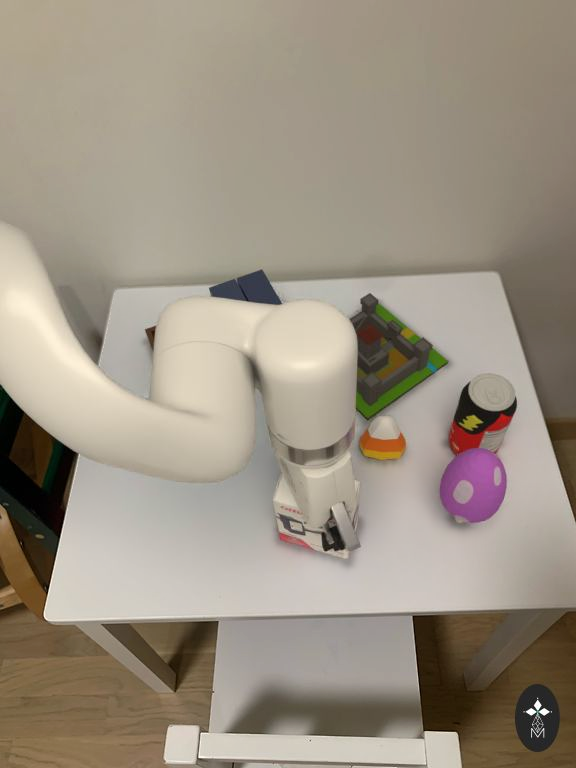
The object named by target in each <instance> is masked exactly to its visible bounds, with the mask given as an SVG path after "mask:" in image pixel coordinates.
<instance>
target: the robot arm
mask: <svg viewBox="0 0 576 768" xmlns="http://www.w3.org/2000/svg"><path fill="white" fill-rule="evenodd" d="M55 289H56V288H55V287H54V284H53V281H52V279H51V275H50V273H49V270H48V268H47V264H46V262H45V260H44V256H43V255H42V252H41V249H40V248H39V246H38V244H37V243H36V241H35V240H34V238H33V237H32V236H31V235H30V234H29V233H28V232H27V231H25V230H24V229H22V228H20V227H18V226H16V225H13V224H11V223H8V222H6V221H4V220H1V219H0V386H1V387H2V389H3V390H4V391H5V392H6V393H7V394H8V396H9V397H10V398H11V399H12V401H13V402H14V403H15V404H16V405H17V406H18V408H20V409H21V410H22V411H23V412H24V413H25V414H26V415H27V416H28V417H29V418H30V419H31V420H33V422H35V423H36V424H37V425H38V426H40V427H41V428H42V429H43V430H44V431H45V432H47V433H48V434H49V435H51V436H52V437H53V438H54V439H56V440H57V441H58V442H60V443H61V444H62V445H64V446H66V447H67V448H69V449H70V450H72V451H73V452H75V453H77V454H78V455H80V456H82V457H84V458H86V459H88V460H90V461H92V462H96V463H98V464H100V465H105V466H108V467H111V468H115V469H118V470H123V471H127V472H131V473H135V474H140V475H144V476H148V477H152V478H157V479H162V480H166V481H171V482H178V483H186V484H211V483H217V482H218V483H219V482H221V481H224V480H227V479H229V478H232V477H233V476H235V475H237V474H239V473H240V472H242V470H243V469H244V468H245V467H246V466H247V465H248V464H249V461H250V460H251V458H252V456H253V454H254V451H255V445H256V440H257V437H256V436H257V406H256V390H258V392H259V393H260V396H261V401H262V406H263V411H264V416H265V422H266V427H267V432H268V438H269V441H270V445H271V447H272V449H273V453H274V457H275V459H276V462H277V464H278V467H279V469H280V471H282V473H283V476H284V478H285V480H286V482H287V484H288V486H289V489H290V491H291V493H292V495H293V497H294V499H295V501H296V503H297V505H298V507H299V510H300V512H301V514H302V516H303V518H304V519H305V521H306V523H307V524H308V525H309V526H310V527H312V528H314V529H315V528H318V527H321V526H322V528H323V532H322V534H321V537H322V547H323V550H324V551H325V552H326V551H329V550H331V549H334V551H339V550H341V551H342V550H344V549H345V551H347V552H350V553H351V552H353V551H355V550H357V549H359V548H362V546H361V543H360V540H359V538H358V535H357V533H356V531H355V530H354V527H353V524H352V521H351V518H350V515H349V512H350V513H351V512H352V510H353V508H354V503H355V482H354V479H355V473H354V466H353V460H352V454H351V453H352V452H351V447H352V446H353V444H354V440H355V435H356V412H357V411H356V386H357V357H358V343H357V335H356V332H355V329H354V327H353V324H352V323H351V321H350V320H349V319H350V318H349V316H348V315H346V314H345V313H344V312H343V310H341V308H338V307H336V306H335V305H333V304H331V303H329V302H327V301H323V300H320V299H313V298H300V299H293V300H289V301H286V302H284V303H283V302H282V304H281V305H273V304H263V303H254V302H247V301H240V300H233V299H227V298H219V297H211V296H208V295H207V296H206V295H194V296H187V297H186V296H185V297H182V298H179V299H176V300H174V301H172V302H170V303H169V304H167V305H166V306H165V307H164V308H163V310H162V311H161V312H160V314H159V316H158V319H157V321H156V325H155V326H156V329H155V338H154V350H152V362H151V372H150V382H149V392H148V399H147V398H145V397H142V396H140V395H137V394H136V393H134V392H132V391H130V390H129V389H127V388H125V387H124V386H122V385H120V383H118V382H117V381H116V380H114V379H113V378H112V377H110V376H109V375H108V374H106V373H105V371H103V370H102V369H101V367H100V366H99V365H97V363H95V362H94V360H93V359H92V358H91V356H90V355H89V354H88V353H87V351H86V350H85V348H83V346H82V344H81V343H80V341H79V339H78V338H77V336H76V334H75V333H74V331H73V329H72V327H71V325H70V323H69V320H68V319H67V317H66V315H65V312H64V309H63V306H62V304H61V301H60V299H59V297H58V294H57V292H56V290H55ZM332 519H334V521H335V523H336V526H333V527H331V528H330V526H329V523H328V521H330V520H332Z"/></svg>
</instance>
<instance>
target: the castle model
mask: <svg viewBox="0 0 576 768" xmlns="http://www.w3.org/2000/svg"><path fill="white" fill-rule="evenodd" d="M359 303H360V305H361V311H359V312H358V313H356V314H355V315H353V316H352V317H350V318H349V320H350V321H351V323H352V324H353V327H354V329H355V332H356V335H357V343H358V357H357V386H356V410H357V411H356V412H358V413H359V414H360V415H361V416H362V417H363V418H364V419H365V420H366V421H370V419H372V418H374V416H377V414H379V413H380V412H382V411H383V410H385V409H386V408H388V407H389V406H390V405H392V404H393V403H394V402H396V401H398V400H399V399H400V398H401V397H403V396H404V395H405V394H407V393H408V392H410V391H411V390H413V389H415V387H417V386H419V385H420V384H421V383H423V382H424V381H425V380H427V379H428V378H430V377H431V376H433V375H434V374H435V373H437V372H438V371H439V370H441V369H443V368H444V367H445V366H446V365H448V363H449V360H448V359H447V358H445V357H444V356H443V355H442V354H440V352H438V351H437V350H436V349H434V348H433V346H434V345H433V344H432V343H431V342H430V341H428V340H427V338H425V337H424V336H422V337H420V336H419V335H418V334H417V333H416V332H414V331H413V330H412V329H411V328H410V327H408V326H407V325H406V324H405V323H403V322H402V321H401V320H400V319H398V317H396V316H395V315H394V314H393V313H392V312H390V311H389V310H388V309H386V308H385V307H384V306H383V305H382V304H381V303H380V302H379V299H378V298H377V297H376V296H375V295H374V294H372V293H371V292H369V293H367V294H366V295H364V296H362V297H361V298H360V301H359Z"/></svg>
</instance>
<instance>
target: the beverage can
mask: <svg viewBox="0 0 576 768" xmlns="http://www.w3.org/2000/svg"><path fill="white" fill-rule="evenodd" d="M517 399H518V398H517V396H516V389H515V387H514V385H513V384H512V383H511V381H510V380H508V378H506V377H504V376H503V375H500V374H497V373H493V372H485V373H480V374H478V375H476V376H474V377H473V378H472V379H471V380H470V381H469V382H468V383H467V384H465V385H464V387H463V388H462V389H461V392H460V395H459V399H458V402H457V406H456V409H455V412H454V415H453V419H452V422H451V426H450V429H449V432H448V442H449V446H450V448H451V449H452V450H453V452H454V454H456V456H457V455H459V454H460V453H462V452H464V451H466V450H468V449H473V448H484V449H487V450H490V451H492V452H493V453H494V454H496V455H497V453H498V451H499V449H500V447H501V445H502V443H503V440H504V438H505V436H506V433H507V432H508V429H509V427H510V425H511V423H512V421H513V418H514V416H515V414H516V412H517V408H518V400H517Z"/></svg>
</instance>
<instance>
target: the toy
mask: <svg viewBox="0 0 576 768" xmlns="http://www.w3.org/2000/svg"><path fill="white" fill-rule="evenodd" d="M507 478H508V477H507V472H506V469H505V466H504V463H503V462H502V460H501V459H500V457H498V456H497V453H496V454H494V453H493V452H492V451H490V450H487V449H484V448H473V449H468V450H466V451H464V452H462V453H460V454H459V455H457V454H456V456H455V457H454V458H453V459H452V460H450V462H449V464H447V466H446V467H445V469H444V471H443V474H442V475H441V478H440V482H439V488H438V493H439V499H440V503H441V504H442V506H443V507H444V509H445V511H447V513H448V514H450V516H452V517H453V518H454V521H455V523H458V524H462V523H469V524H477V523H482V522H486V521H488V520H490V519H491V518H492V517H493V516H494V515H495V514H497V512H498V511H499V509H500V508H501V506H502V503H503V502H504V500H505V497H506V492H507V488H508V487H507V486H508V479H507Z"/></svg>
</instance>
